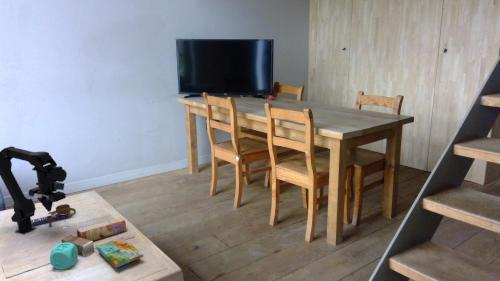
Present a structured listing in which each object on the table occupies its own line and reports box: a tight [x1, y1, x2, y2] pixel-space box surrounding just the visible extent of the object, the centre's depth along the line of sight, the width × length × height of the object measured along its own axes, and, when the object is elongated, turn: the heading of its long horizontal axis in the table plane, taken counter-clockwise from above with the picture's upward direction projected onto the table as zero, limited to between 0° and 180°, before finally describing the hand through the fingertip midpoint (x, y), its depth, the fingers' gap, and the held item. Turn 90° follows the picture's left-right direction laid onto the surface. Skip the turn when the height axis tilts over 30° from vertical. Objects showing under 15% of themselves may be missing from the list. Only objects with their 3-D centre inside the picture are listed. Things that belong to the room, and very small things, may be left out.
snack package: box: [76, 217, 127, 242], centre depth 185 cm, size 21×7×7 cm, turn 129°
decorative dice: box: [49, 242, 79, 271], centre depth 162 cm, size 8×8×8 cm
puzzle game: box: [95, 236, 144, 268], centre depth 167 cm, size 12×5×20 cm
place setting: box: [46, 203, 76, 228], centre depth 206 cm, size 18×20×6 cm
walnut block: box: [61, 234, 95, 258], centre depth 173 cm, size 5×5×14 cm
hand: (49, 211), depth 185 cm, fingers closed
